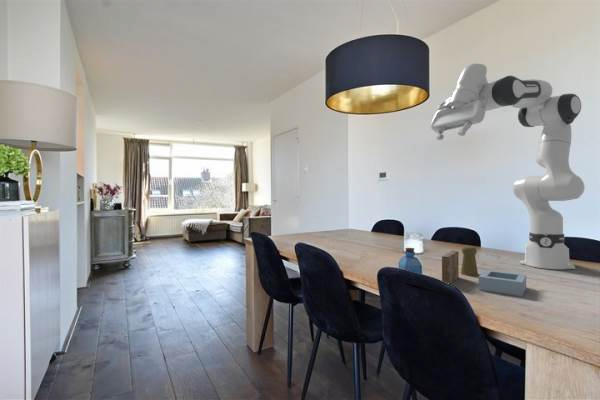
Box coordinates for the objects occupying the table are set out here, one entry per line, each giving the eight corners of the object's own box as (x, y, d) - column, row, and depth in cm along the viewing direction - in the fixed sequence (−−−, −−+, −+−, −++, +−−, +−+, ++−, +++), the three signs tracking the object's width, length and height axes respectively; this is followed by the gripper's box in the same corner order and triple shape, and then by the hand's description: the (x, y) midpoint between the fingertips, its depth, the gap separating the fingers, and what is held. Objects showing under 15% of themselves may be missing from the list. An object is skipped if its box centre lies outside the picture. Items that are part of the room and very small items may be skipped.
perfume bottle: (398, 278, 122) (398, 247, 122) (414, 278, 123) (414, 246, 123) (405, 283, 116) (405, 250, 116) (422, 282, 117) (421, 249, 116)
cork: (480, 276, 124) (480, 247, 124) (463, 275, 125) (463, 247, 125) (475, 272, 130) (474, 245, 130) (458, 271, 131) (458, 244, 131)
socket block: (485, 281, 116) (485, 269, 116) (526, 287, 108) (526, 274, 108) (478, 289, 107) (478, 276, 107) (522, 296, 99) (522, 282, 99)
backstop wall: (452, 276, 124) (452, 250, 124) (458, 277, 123) (458, 251, 123) (442, 284, 113) (441, 256, 113) (448, 285, 112) (447, 257, 112)
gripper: (494, 101, 109) (481, 136, 107) (445, 115, 128) (433, 145, 125) (483, 90, 107) (469, 126, 104) (434, 106, 125) (422, 137, 123)
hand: (449, 137), depth 115 cm, fingers open, 8 cm apart
